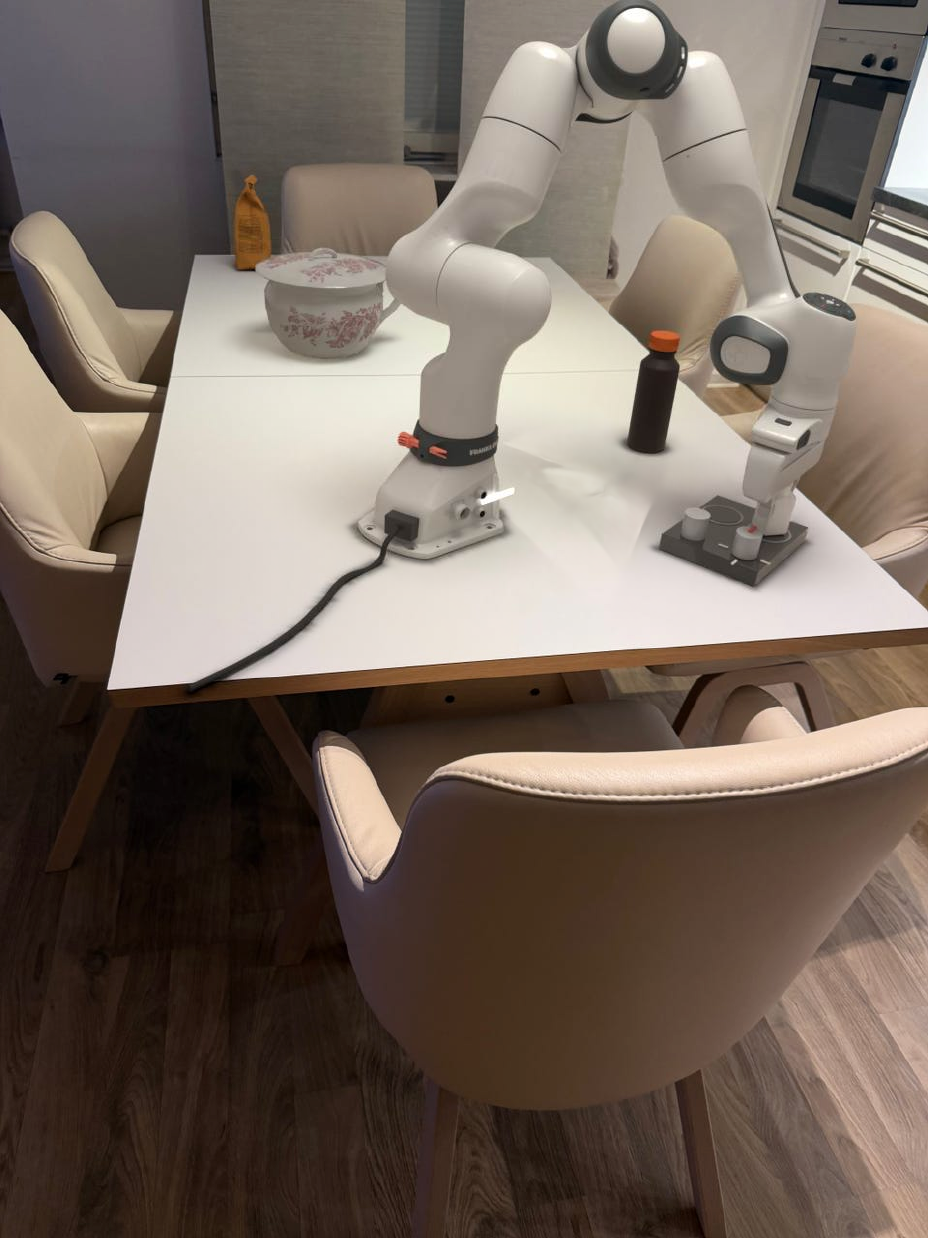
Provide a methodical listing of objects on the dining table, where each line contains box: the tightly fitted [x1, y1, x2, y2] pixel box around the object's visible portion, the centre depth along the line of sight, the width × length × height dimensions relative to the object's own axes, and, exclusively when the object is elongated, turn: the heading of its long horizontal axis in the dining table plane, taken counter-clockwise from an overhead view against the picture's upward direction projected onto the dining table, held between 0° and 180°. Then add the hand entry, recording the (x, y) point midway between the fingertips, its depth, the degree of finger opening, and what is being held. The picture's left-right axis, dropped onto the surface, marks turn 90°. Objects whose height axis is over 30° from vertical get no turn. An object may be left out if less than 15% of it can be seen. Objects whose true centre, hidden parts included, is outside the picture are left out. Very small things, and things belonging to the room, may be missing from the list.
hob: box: [658, 494, 809, 587], centre depth 141 cm, size 19×15×3 cm
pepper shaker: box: [752, 482, 797, 536], centre depth 138 cm, size 4×4×10 cm
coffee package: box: [233, 174, 272, 271], centre depth 251 cm, size 10×12×22 cm
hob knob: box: [731, 526, 763, 560], centre depth 133 cm, size 4×4×4 cm
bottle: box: [626, 330, 681, 454], centre depth 165 cm, size 7×7×20 cm
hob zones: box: [681, 505, 791, 543], centre depth 139 cm, size 14×14×4 cm
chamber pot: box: [255, 247, 402, 360], centre depth 198 cm, size 28×28×21 cm
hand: (773, 508), depth 139 cm, fingers closed on pepper shaker, 5 cm apart
